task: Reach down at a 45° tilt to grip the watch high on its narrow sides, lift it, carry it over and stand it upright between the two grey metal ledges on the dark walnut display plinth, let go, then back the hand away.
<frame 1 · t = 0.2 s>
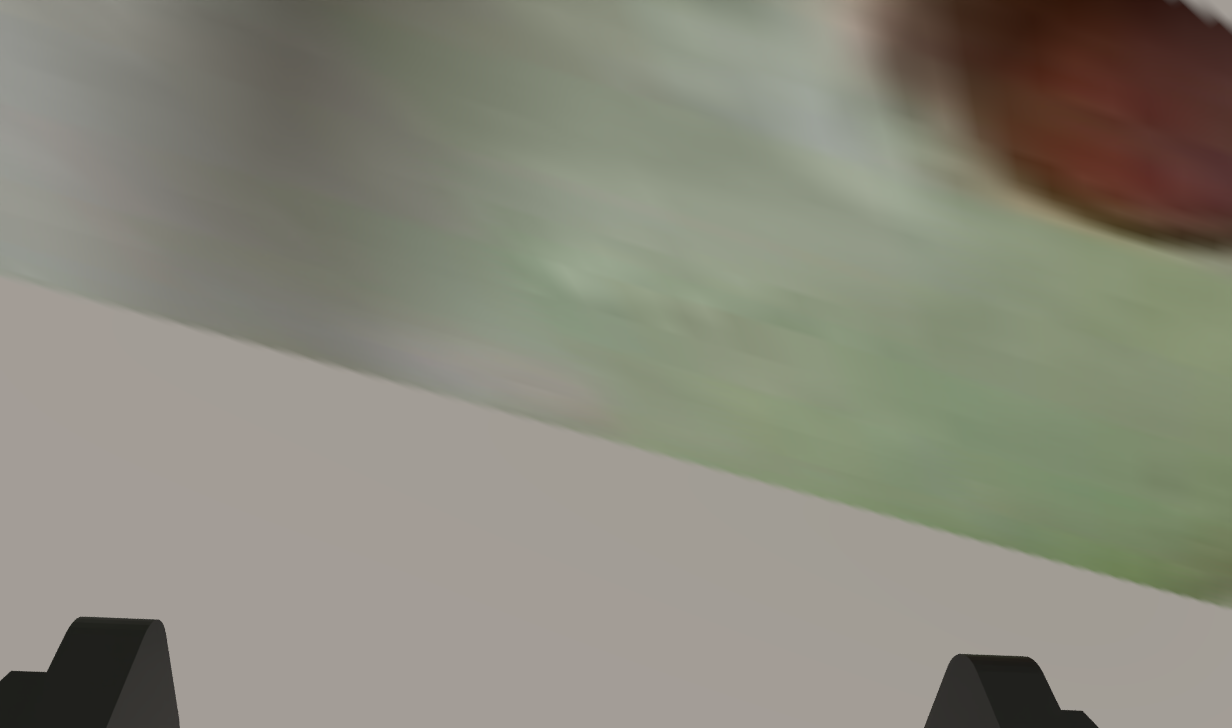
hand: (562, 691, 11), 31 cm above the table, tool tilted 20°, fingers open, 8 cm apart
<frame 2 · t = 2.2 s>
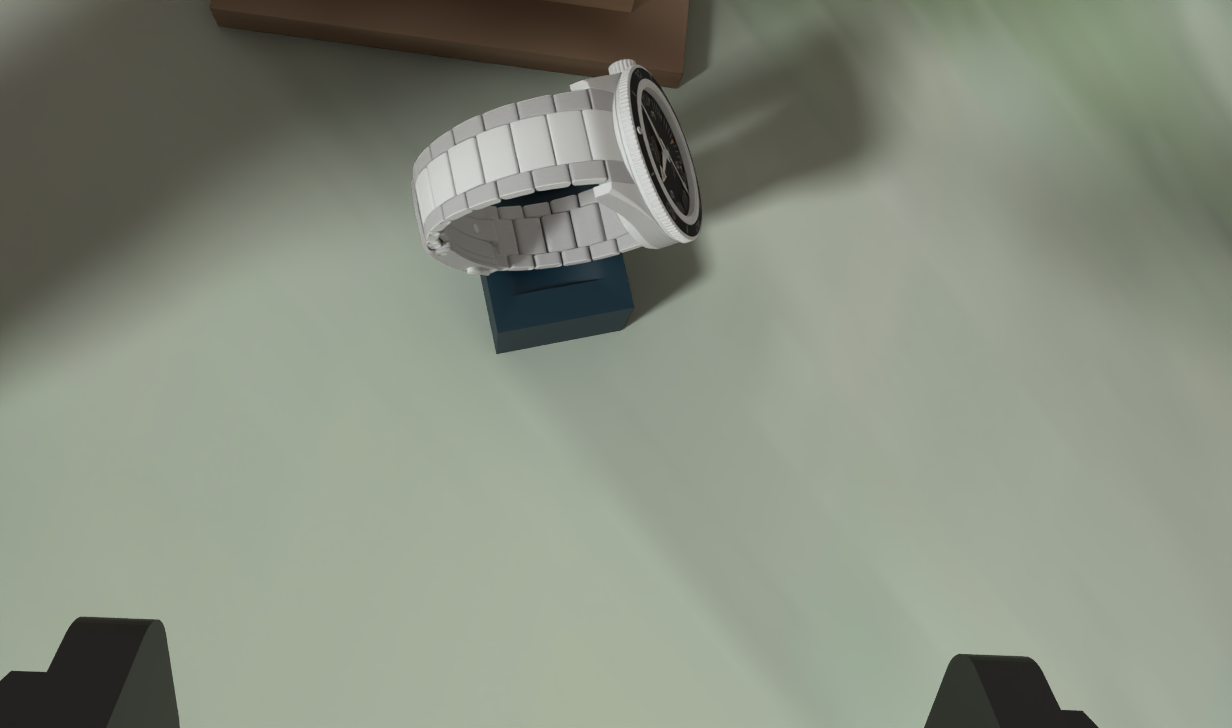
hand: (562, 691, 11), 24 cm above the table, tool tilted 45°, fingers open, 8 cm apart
watch: (545, 264, 38), on the table
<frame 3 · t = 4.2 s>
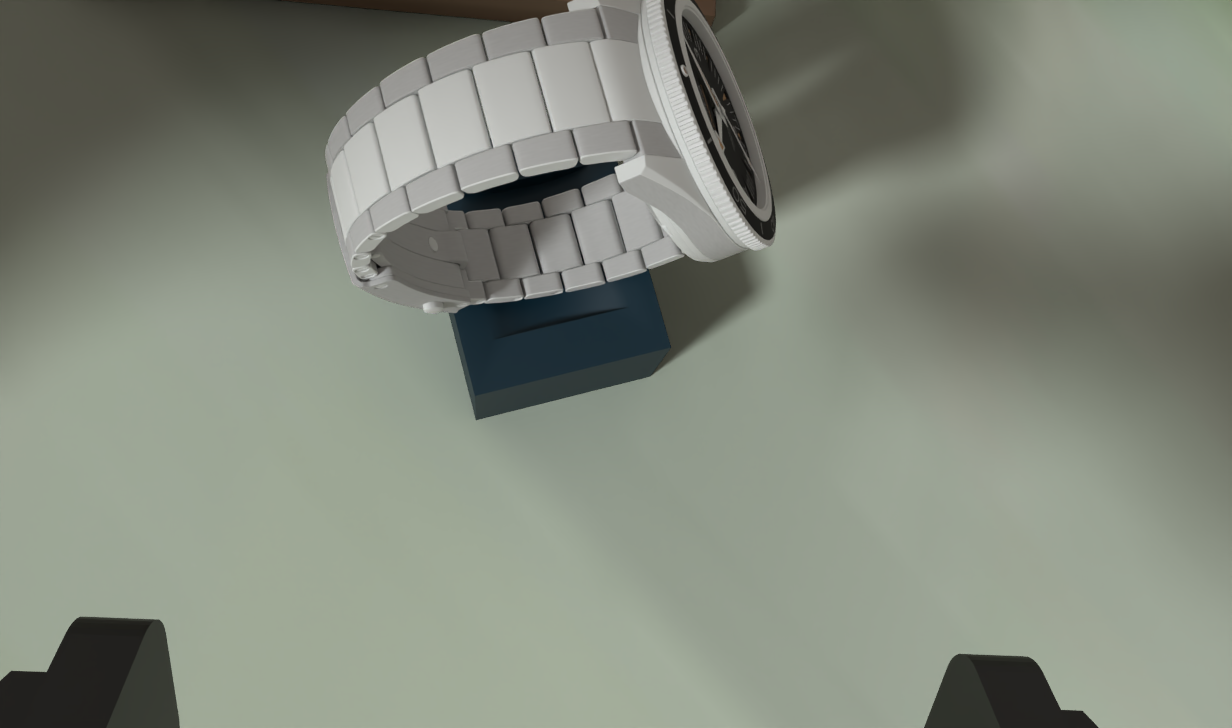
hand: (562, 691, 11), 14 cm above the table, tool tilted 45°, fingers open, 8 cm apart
watch: (538, 289, 27), on the table
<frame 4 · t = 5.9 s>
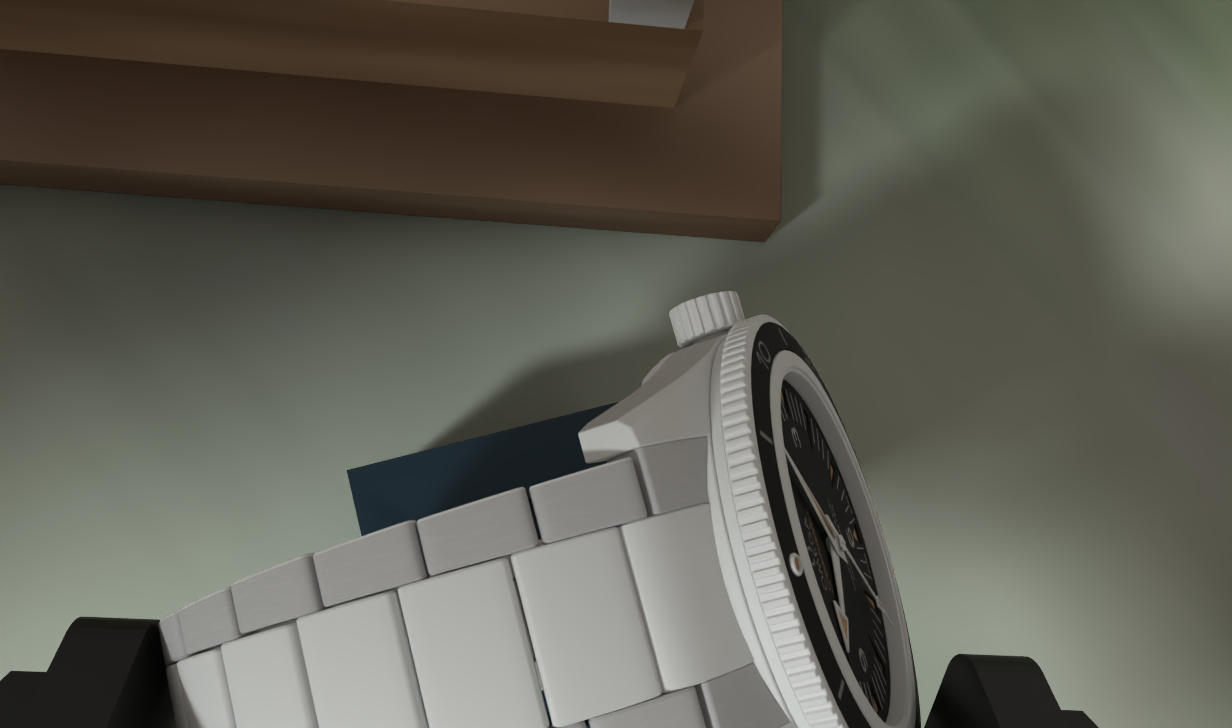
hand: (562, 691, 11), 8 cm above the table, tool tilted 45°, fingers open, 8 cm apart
watch: (532, 609, 19), on the table, touching gripper
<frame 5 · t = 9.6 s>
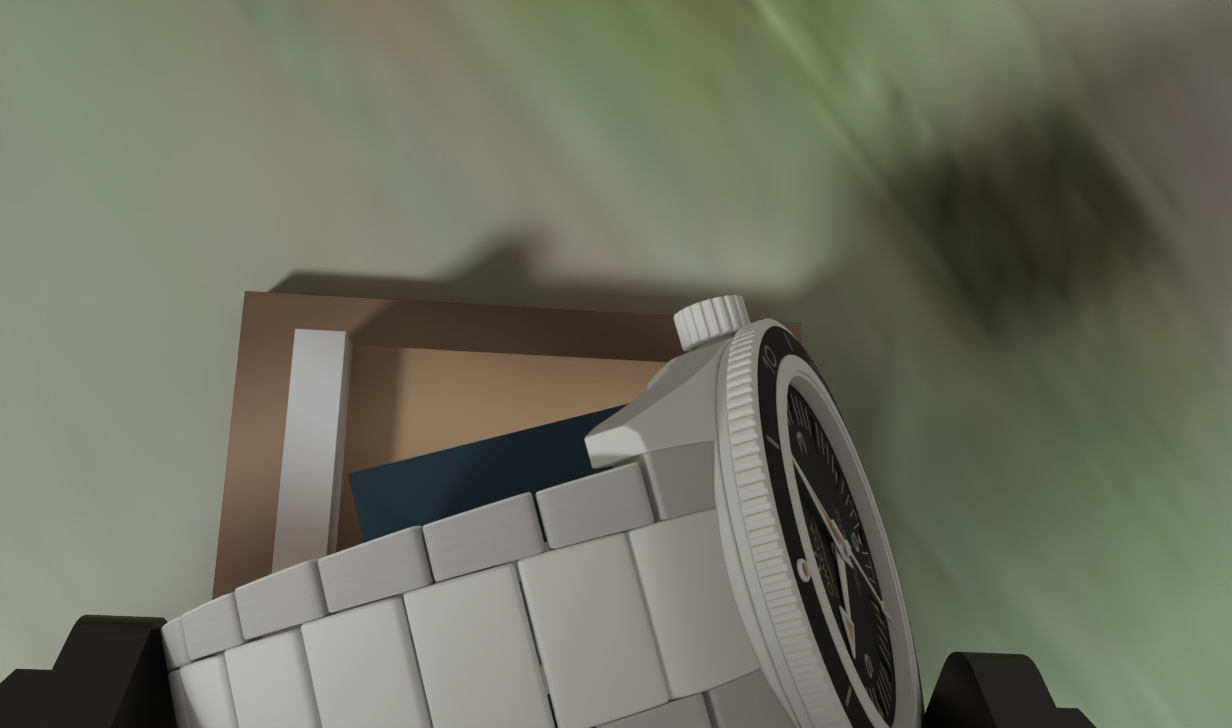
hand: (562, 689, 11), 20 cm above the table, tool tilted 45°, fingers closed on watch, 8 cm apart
watch: (533, 613, 19), point 12 cm above the table, touching gripper
display plinth: (514, 591, 31), on the table
when the fingers open (13 cm above the table, at t = 12.8 s): watch drops 1 cm, resting on display plinth.
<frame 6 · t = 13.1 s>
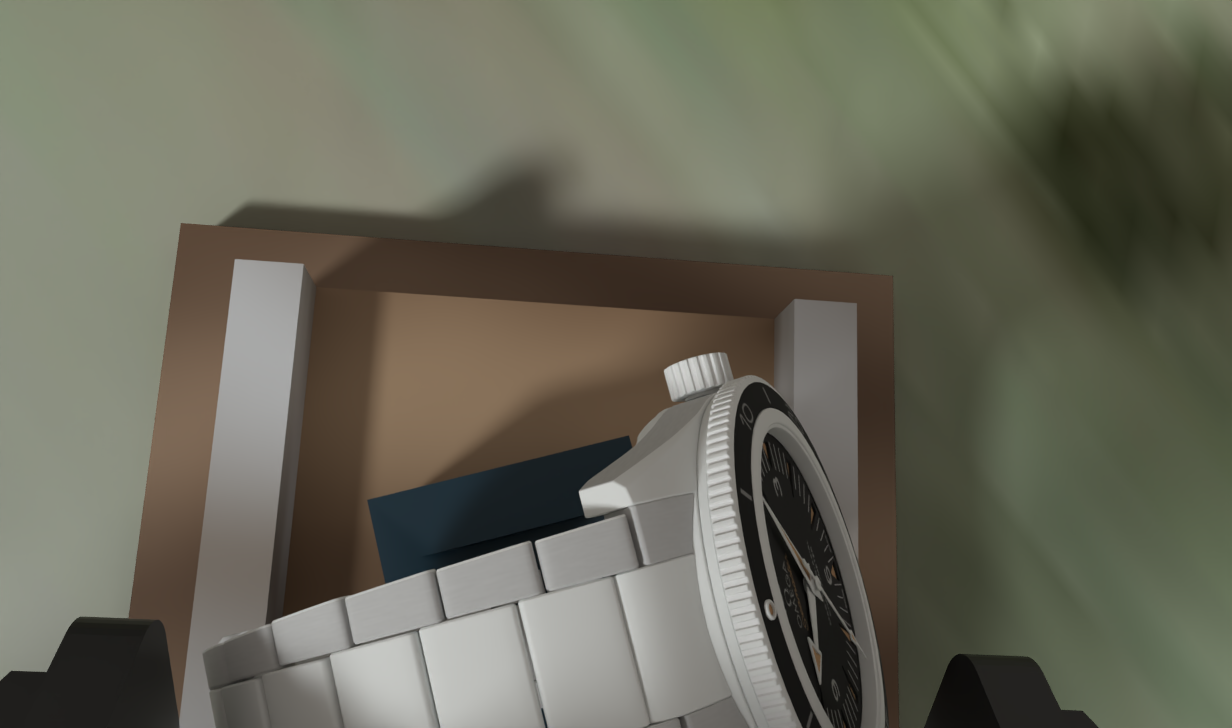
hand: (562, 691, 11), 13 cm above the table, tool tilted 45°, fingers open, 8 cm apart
watch: (539, 627, 21), point 4 cm above the table, touching display plinth
display plinth: (525, 614, 24), on the table
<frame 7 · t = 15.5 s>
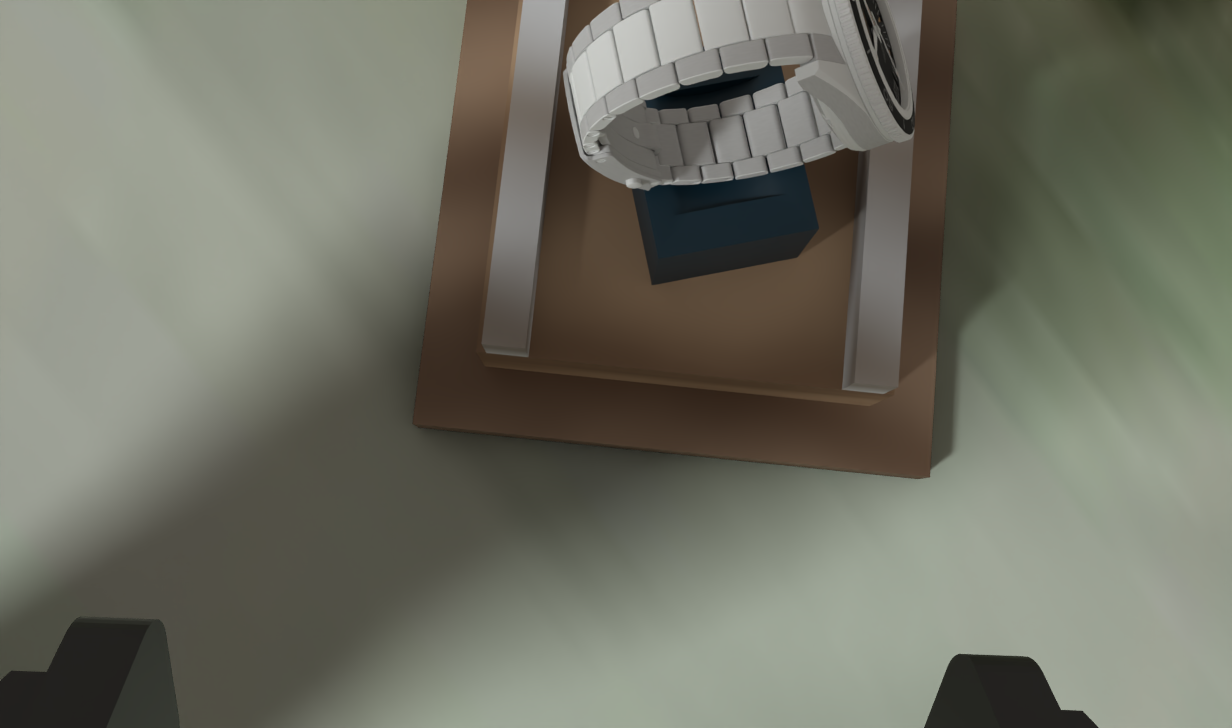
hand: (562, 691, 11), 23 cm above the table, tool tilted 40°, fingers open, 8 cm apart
watch: (707, 181, 33), point 4 cm above the table, touching display plinth
display plinth: (691, 211, 36), on the table
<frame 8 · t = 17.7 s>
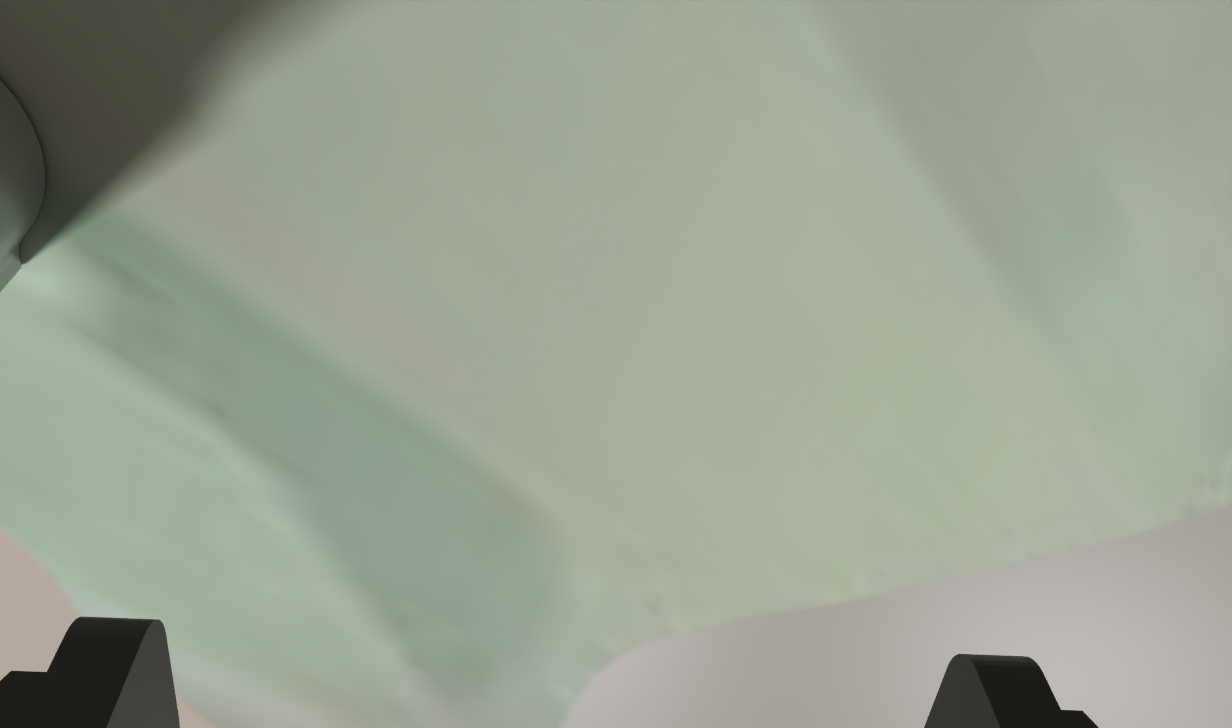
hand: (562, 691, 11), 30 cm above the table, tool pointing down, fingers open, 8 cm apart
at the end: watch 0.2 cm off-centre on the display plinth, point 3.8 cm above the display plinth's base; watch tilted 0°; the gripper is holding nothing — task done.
